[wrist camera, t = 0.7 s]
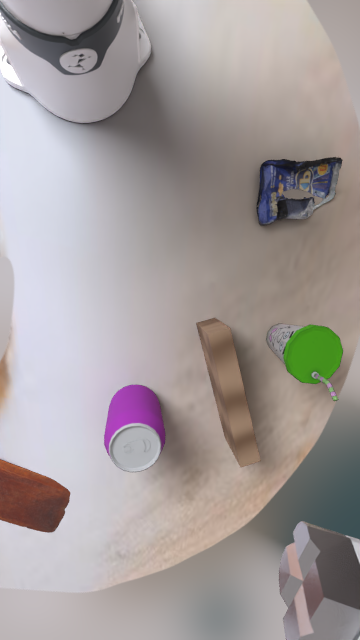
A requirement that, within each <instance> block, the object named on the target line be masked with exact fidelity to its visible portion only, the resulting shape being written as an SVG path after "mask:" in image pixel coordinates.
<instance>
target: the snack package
mask: <svg viewBox="0 0 360 640" xmlns="http://www.w3.org/2000/svg"><path fill="white" fill-rule="evenodd" d="M341 164H342V159H341V158H336V157H332V158H324V159H320V160H316V161H305V162H304V161H303V162H296V161H290V160H285V159H282V160H268V161H265V162H264V163H263V164H262V165H261V168H260V190H259V197H258V202H257V205H258V204H259V201H260V195H261V199H262V200H261V201H260V205H259V208H258V207H257V209H258V210H257V214H258V218H259V224H260V225H268V224H271V223H273V222H274V221H276V220H281V219H305V218H308V217H309V216H310V215H311V214H312V213H313V210H314V209H315V208H318V207H320V206H321V205H322V204H324V203H326V202H328V201H330V200H331V199H333V197H334V196H335V186H336V184H337V181H338V176H339V169H340V168H341ZM289 189H301V190H304V191H306V192H309V193H311V194H312V195H314V196H318V197H321V198H323V201H322V202H321V203H320V204H318V205H314V203H315V202H314V198H313V197H310V198H306V197H304V199H288V198H285V197H284V195H283V194H282V192H283V191H287V190H289ZM328 193H329V197H327V198H326V195H328Z"/></svg>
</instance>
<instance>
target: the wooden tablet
mask: <svg viewBox="0 0 360 640" xmlns="http://www.w3.org/2000/svg"><path fill="white" fill-rule="evenodd" d="M69 497H70V492H69V490H68V489H66V488H65V487H63V486H62V485H60V484H59V483H57V482H56V481H54V480H53V479H51V478H48V477H46V476H43V475H41V474H38V473H35V472H33V471H30V470H28V469H25V468H22V467H19V466H16V465H13V464H11V463H8V462H6V461H3V460H0V520H2V521H6V522H9V523H13V524H16V525H19V526H22V527H27V528H30V529H34V530H38V531H42V532H53V531H54V530H55V529H56V528H57V526H58V525H59V522H60V521H61V519H62V518H63V516H64V514H65V511H64V510H65V508H66V507H67V505H68V503H69Z"/></svg>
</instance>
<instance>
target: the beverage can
mask: <svg viewBox="0 0 360 640" xmlns="http://www.w3.org/2000/svg"><path fill="white" fill-rule="evenodd" d="M164 444H165V429H164V424H163V419H162V413H161V408H160V404H159V401H158V398H157V396H156V395H155V394H154V392H153V391H152V390H150V389H149V388H147V387H145V386H142V385H129V386H126V387H123V388H122V389H120V390H119V391H118V392H117V393H116V394H115V395H114V397H113V398H112V400H111V403H110V406H109V411H108V417H107V423H106V429H105V435H104V445H105V448H106V450H107V453H108V455H109V456H110V458H111V459H112V461H113V463H114V464H115V465H116V466H117V467H118V468H120V469H122V470H124V471H128V472H140V471H143V470H146V469H148V468H149V467H150V466H152V465H153V464H154V463H155V462H156V460H157V459H158V457H159V455H160V453H161V451H162V449H163V446H164Z"/></svg>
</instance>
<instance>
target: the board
mask: <svg viewBox="0 0 360 640" xmlns="http://www.w3.org/2000/svg"><path fill="white" fill-rule="evenodd" d="M196 324H197V328H198V332H199V336H200V340H201V344H202V348H203V352H204V356H205V360H206V364H207V368H208V372H209V376H210V380H211V384H212V388H213V392H214V396H215V400H216V404H217V408H218V412H219V416H220V420H221V424H222V428H223V432H224V436H225V439H226V441H227V442H228V444H229V446H230V448H231V450H232V452H233V454H234V456H235V458H236V459H237V461H238V463H239V465H240V467H244V466H247V465H250V464H253V463H256V462H259V461H261V460H260V456H259V451H258V447H257V443H256V438H255V434H254V430H253V425H252V421H251V416H250V412H249V408H248V403H247V399H246V395H245V390H244V386H243V382H242V377H241V373H240V368H239V364H238V360H237V355H236V351H235V347H234V342H233V338H232V333H231V329H230V328H229V327H228V326H226V325H225V324H223V323H222V322H220V321H219V320H217V319H216V318H213V319H209V320H206V321H202V322H199V323H196Z"/></svg>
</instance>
